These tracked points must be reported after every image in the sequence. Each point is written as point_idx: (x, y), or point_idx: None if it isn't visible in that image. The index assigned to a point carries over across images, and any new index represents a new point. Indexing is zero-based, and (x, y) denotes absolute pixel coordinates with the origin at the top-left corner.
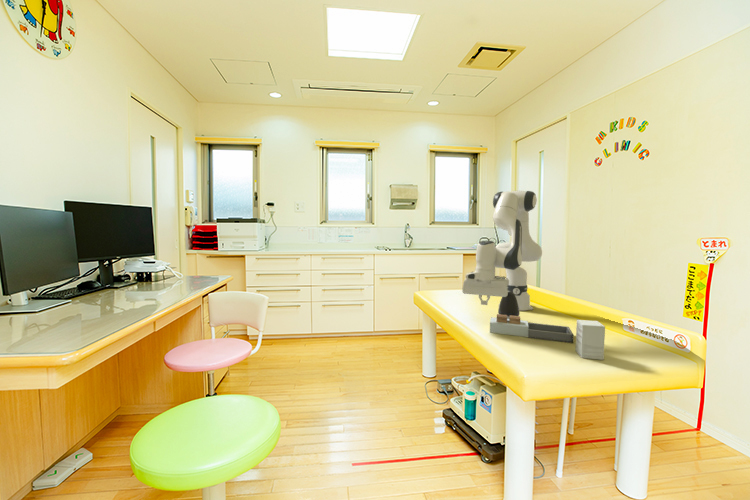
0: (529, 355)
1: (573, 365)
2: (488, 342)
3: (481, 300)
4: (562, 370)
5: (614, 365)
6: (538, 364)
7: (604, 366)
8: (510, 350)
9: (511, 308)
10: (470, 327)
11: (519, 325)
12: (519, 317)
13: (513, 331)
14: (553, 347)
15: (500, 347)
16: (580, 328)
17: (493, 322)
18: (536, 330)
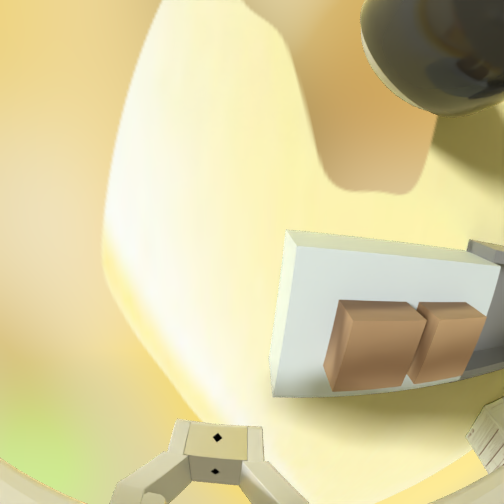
0: (357, 480)
1: (422, 474)
2: None
3: (178, 483)
4: (387, 496)
5: None
6: (355, 499)
7: (471, 448)
8: (317, 477)
9: (487, 103)
10: (152, 295)
11: None
12: (472, 347)
13: None
14: (453, 410)
15: (291, 472)
16: None
17: (298, 385)
18: (471, 375)
